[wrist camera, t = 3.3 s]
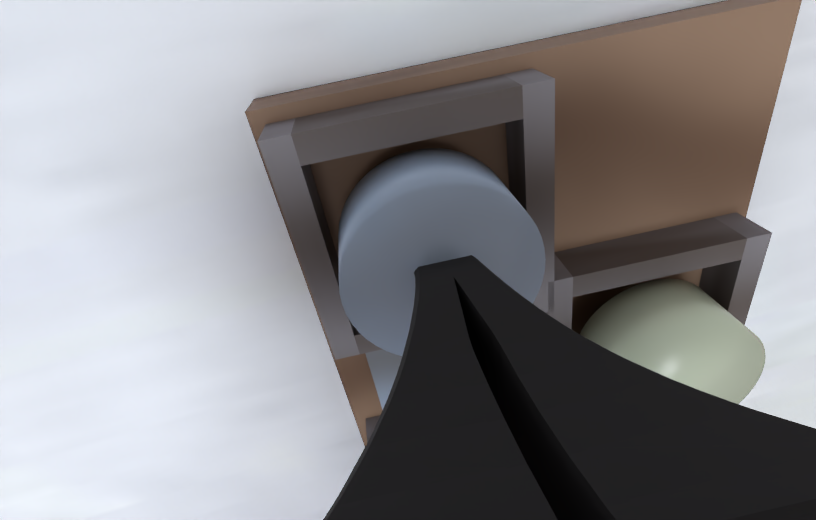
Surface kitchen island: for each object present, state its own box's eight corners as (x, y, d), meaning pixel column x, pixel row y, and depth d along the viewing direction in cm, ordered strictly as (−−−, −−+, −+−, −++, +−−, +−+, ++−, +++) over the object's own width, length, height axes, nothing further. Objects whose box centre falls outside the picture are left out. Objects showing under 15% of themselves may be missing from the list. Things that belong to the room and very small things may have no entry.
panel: (666, 426, 24) (705, 479, 22) (388, 490, 24) (394, 551, 21) (758, -7, 13) (857, -3, 11) (254, 99, 13) (234, 128, 10)
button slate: (516, 286, 14) (546, 336, 12) (360, 320, 14) (364, 377, 12) (508, 129, 12) (544, 161, 10) (316, 170, 12) (312, 211, 10)
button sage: (698, 370, 18) (744, 421, 16) (573, 398, 18) (604, 453, 16) (724, 264, 15) (784, 308, 13) (576, 296, 15) (614, 346, 13)
